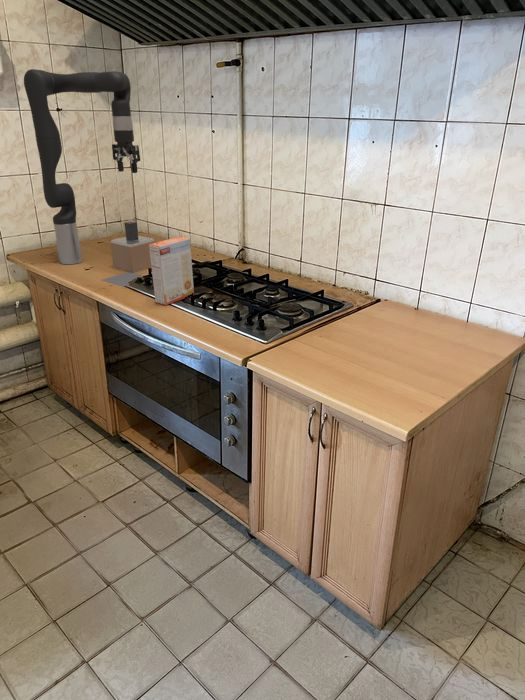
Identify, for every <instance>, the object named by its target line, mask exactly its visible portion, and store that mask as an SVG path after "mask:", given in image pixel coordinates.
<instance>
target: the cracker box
mask: <svg viewBox="0 0 525 700" xmlns="http://www.w3.org/2000/svg"><path fill="white" fill-rule="evenodd" d="M149 250H150V259H151V268H150V269H151V275H152V283H153V284H152V285H153V292H154V293H153V294H154V302H155V303H157V304H159V305H163V306H168V305H171V304H173V303H176V302H179V301H181V300H184V299H186V298H185V297H187V296H188V295H190V294H192V293H194V294H195V290H194V289H195V287H194V276H193V275H194V274H193V265H192V264H193V263H192V261H193V260H192V248H191V239H190V238H188V237H183V236H176V237H173V238H168V239H165V240H161V241H157V242H155V243H153V244H149ZM187 298H188V297H187Z"/></svg>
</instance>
